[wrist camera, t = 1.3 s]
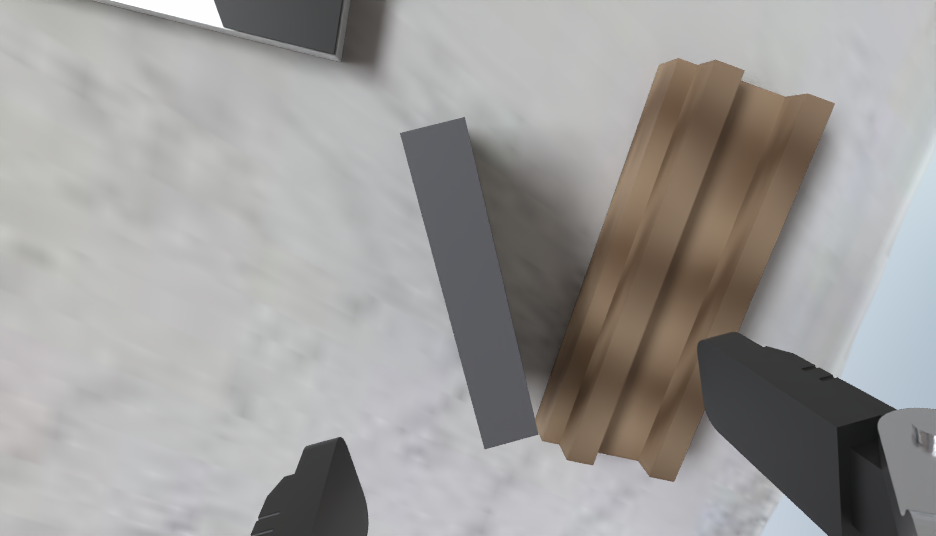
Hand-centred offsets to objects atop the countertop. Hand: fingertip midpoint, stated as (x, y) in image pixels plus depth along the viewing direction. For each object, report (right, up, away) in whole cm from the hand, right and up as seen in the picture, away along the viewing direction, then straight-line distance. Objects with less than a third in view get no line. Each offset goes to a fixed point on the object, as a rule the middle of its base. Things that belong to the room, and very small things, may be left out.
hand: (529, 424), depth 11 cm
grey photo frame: (-2, +4, +17) cm, 18 cm away
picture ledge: (+10, +3, +18) cm, 21 cm away
